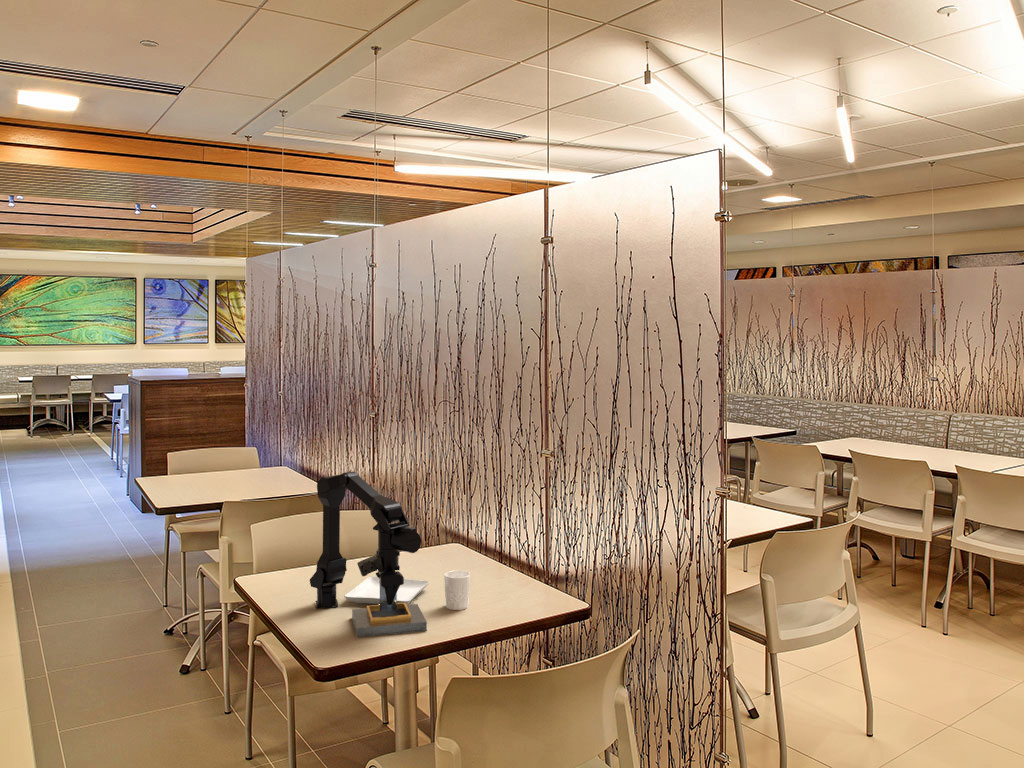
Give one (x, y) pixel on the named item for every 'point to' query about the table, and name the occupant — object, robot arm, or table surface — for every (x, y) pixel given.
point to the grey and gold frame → (388, 620)
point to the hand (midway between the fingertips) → (388, 601)
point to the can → (383, 601)
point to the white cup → (457, 589)
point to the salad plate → (371, 591)
